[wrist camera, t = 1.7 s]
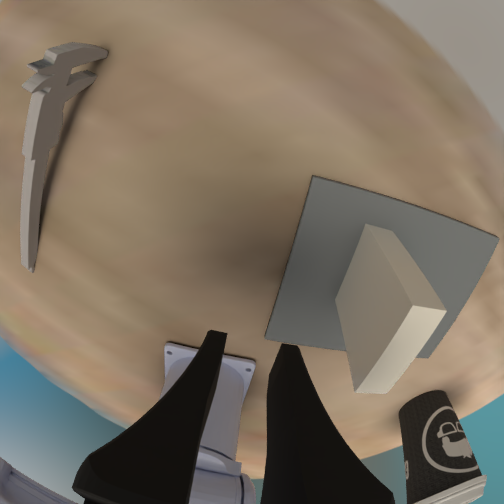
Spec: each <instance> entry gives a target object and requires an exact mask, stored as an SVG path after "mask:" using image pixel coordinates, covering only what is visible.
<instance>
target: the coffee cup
mask: <svg viewBox="0 0 504 504" xmlns="http://www.w3.org/2000/svg"><path fill="white" fill-rule="evenodd" d="M399 419H400V427H401V434H402V442H403V451H404V462H405V472H406V490H407V504H468V503H470V502H472V501H474V500H475V499H477V498H479V497H480V496H482V495H483V488H484V486H485V484H486V475H482V474H481V472H480V469H479V466H478V464H477V462H476V459H475V457H474V454H473V452H472V449H471V447H470V445H469V443H468V440H467V438H466V436H465V433H464V431H463V429H462V426H461V424H460V422H459V420H458V418H457V416H456V413H455V411H454V409H453V407H452V405H451V403H450V401H449V399H448V397H447V395H446V393H445V392H444V391H439V390H437V391H431V392H427V393H424V394H422V395H420V396H418V397H416V398H414V399H412V400H411V401H409V402H408V403H406V404H405V405H404V406H403V407H402V408H401V410H400V412H399Z"/></svg>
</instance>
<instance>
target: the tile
mask: <svg viewBox="0 0 504 504" xmlns="http://www.w3.org/2000/svg"><path fill="white" fill-rule="evenodd" d="M335 302H336V306H337V310H338V314H339V319H340V323H341V328H342V332H343V337H344V341H345V346H346V351H347V356H348V361H349V365H350V371H351V376H352V381H353V386H354V392H355V393H374V394H387V393H388V391H389V390H390V389H391V388H392V387H393V385H394V384H395V383H396V382H397V380H398V379H399V378H400V377H401V376H402V374H403V373H404V372H405V370H406V369H407V368H408V367H409V365H410V364H411V363H412V361H413V360H414V359H415V357H416V356H417V355H418V353H419V352H420V350H421V349H422V348H423V346H424V345H425V343H426V342H427V341H428V339H429V338H430V336H431V335H432V333H433V332H434V330H435V329H436V327H437V326H438V324H439V323H440V321H441V320H442V318H443V317H444V315H445V313H446V312H447V310H446V309H445V307H444V305H443V304H442V302H441V300H440V299H439V297H438V296H437V294H436V293H435V291H434V289H433V288H432V286H431V285H430V283H429V282H428V280H427V279H426V277H425V276H424V274H423V273H422V271H421V270H420V268H419V267H418V265H417V264H416V263H415V261H414V260H413V258H412V257H411V255H410V254H409V253H408V251H407V250H406V248H405V247H404V246H403V244H402V243H401V242H400V240H399V239H398V238H397V236H396V235H395V234H394V232H393V231H391V230H387V229H384V228H380V227H376V226H372V225H369V224H365V227H364V229H363V232H362V235H361V237H360V240H359V243H358V245H357V248H356V250H355V253H354V255H353V258H352V260H351V263H350V265H349V268H348V270H347V273H346V275H345V277H344V280H343V282H342V285H341V287H340V289H339V292H338V294H337V296H336V298H335Z"/></svg>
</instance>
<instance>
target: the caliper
mask: <svg viewBox="0 0 504 504" xmlns="http://www.w3.org/2000/svg"><path fill="white" fill-rule="evenodd" d="M107 55H108V51H107V50H105V49H102V48H100V47H98V46H95V45H91V44H83V43H75V42H71V43H67V44H63V45H60V46H56V47H53V48H50V49H46V52H45V55H44V58H43V59H42V60H39V61H36V62H33V63H30V64H27V67H28V68H30V69H32V70H34V71H35V72H37V73H36V74H34V75H33V76H31V77H30V78H29V79H28V80H27V81H26V82H25V83H24V84H23V85H22V88H24V89H26V90H27V91H29V92H31V93H32V97H31V101H30V106H29V111H28V116H27V122H26V128H25V134H24V141H23V148H22V154H23V155H24V156H25V165H24V174H23V184H22V198H21V223H20V241H21V264H22V265H23V266H24V267H25V268H27V269H28V270H29V271H30V272H32V273H34V263H35V262H36V256H37V251H38V232H39V219H40V208H41V200H42V192H43V185H44V179H45V173H46V167H47V161H48V156H49V151H50V149H51V148H52V147H54V146H55V145H57V144H58V141H59V132H60V130H61V127H62V125H63V112H62V110H63V107H64V104H65V102H66V101H68V100H69V99H70V98H72V97H73V96H75V95H76V94H77V93H79V92H80V91H82V90H83V89H85V88H86V87H88V86H89V85H90V84H92V83H93V82H94V81H95V79H96V77H97V75H96V74H94V73H92V72H90V71H88V70H86V71H83V72H82V71H80V72H77V73H74V74H71V70H72V68H73V67H76V66H79V65H82V64H86V63H89V62H92V61H95V60H99V59H103V58H107ZM70 74H71V75H70Z"/></svg>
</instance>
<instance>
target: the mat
mask: <svg viewBox="0 0 504 504" xmlns="http://www.w3.org/2000/svg"><path fill="white" fill-rule="evenodd" d="M365 224H369V225H372V226H376V227H380V228H384V229H387V230H391V231H393V232H394V234H395V235H396V236H397V238H398V239H399V240H400V242H401V243H402V244H403V246H404V247H405V248H406V250H407V251H408V253H409V254H410V255H411V257H412V258H413V260H414V261H415V263H416V264H417V265H418V267H419V268H420V270H421V271H422V273H423V274H424V276H425V277H426V279H427V280H428V282H429V283H430V285H431V286H432V288H433V289H434V291H435V293H436V294H437V296H438V297H439V299H440V300H441V302H442V304H443V305H444V307H445V309H446V310H447V312H446V313H445V315H444V317H443V318H442V320H441V321H440V323H439V324H438V326H437V327H436V329H435V330H434V332H433V333H432V335H431V336H430V338H429V339H428V341H427V342H426V343H425V345H424V346H423V348H422V349H421V350H420V352H419V353H418V355H417V356H416V357H415V358H429V356H430V355H431V354H432V352H433V351H434V350H435V348H436V347H437V346H438V344H439V343H440V341H441V340H442V339H443V337H444V336H445V334H446V333H447V331H448V330H449V329H450V327H451V326H452V324H453V323H454V321H455V319H456V318H457V316H458V315H459V313H460V312H461V310H462V308H463V307H464V305H465V304H466V302H467V300H468V299H469V297H470V295H471V294H472V292H473V290H474V288H475V287H476V285H477V283H478V281H479V279H480V278H481V276H482V274H483V272H484V270H485V268H486V266H487V264H488V262H489V260H490V258H491V256H492V254H493V252H494V250H495V248H496V246H497V244H498V242H499V238H498V237H497V236H495V235H492V234H490V233H488V232H485V231H483V230H480V229H478V228H475V227H473V226H470V225H468V224H465V223H463V222H460V221H458V220H455V219H452V218H450V217H447V216H444V215H442V214H439V213H436V212H433V211H430V210H428V209H425V208H422V207H419V206H416V205H413V204H410V203H407V202H404V201H401V200H398V199H395V198H392V197H388V196H385V195H382V194H379V193H375V192H372V191H369V190H365V189H362V188H358V187H355V186H351V185H348V184H344V183H341V182H337V181H333V180H329V179H326V178H322V177H318V176H314V175H312V179H311V183H310V186H309V190H308V194H307V197H306V201H305V204H304V208H303V211H302V215H301V219H300V222H299V226H298V229H297V232H296V236H295V239H294V243H293V246H292V250H291V253H290V256H289V260H288V263H287V266H286V270H285V273H284V276H283V279H282V283H281V286H280V289H279V292H278V296H277V299H276V302H275V305H274V308H273V311H272V315H271V318H270V321H269V324H268V327H267V330H266V333H265V339H267V340H272V341H278V342H284V343H291V344H297V345H304V346H310V347H317V348H325V349H332V350H340V351H346V346H345V341H344V337H343V332H342V328H341V323H340V319H339V314H338V310H337V306H336V302H335V298H336V296H337V294H338V292H339V289H340V287H341V285H342V282H343V280H344V277H345V275H346V273H347V270H348V268H349V265H350V263H351V260H352V258H353V255H354V253H355V250H356V248H357V245H358V243H359V240H360V237H361V235H362V232H363V229H364V227H365Z"/></svg>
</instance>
